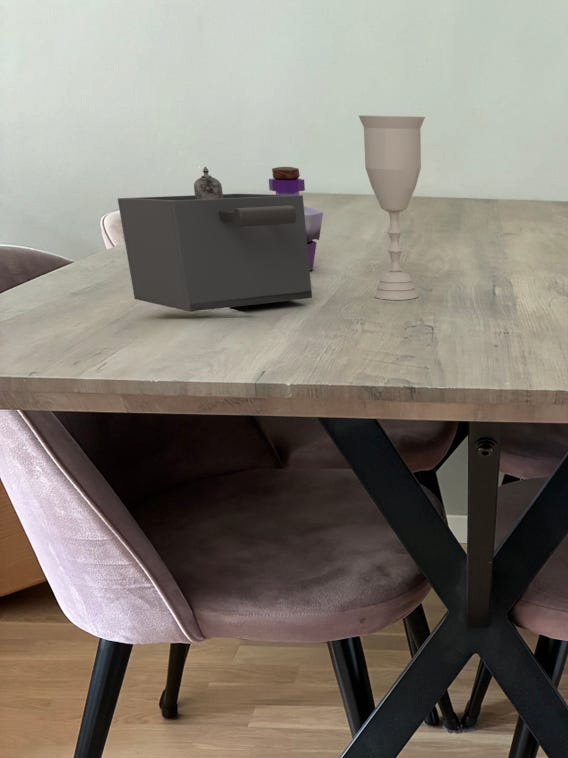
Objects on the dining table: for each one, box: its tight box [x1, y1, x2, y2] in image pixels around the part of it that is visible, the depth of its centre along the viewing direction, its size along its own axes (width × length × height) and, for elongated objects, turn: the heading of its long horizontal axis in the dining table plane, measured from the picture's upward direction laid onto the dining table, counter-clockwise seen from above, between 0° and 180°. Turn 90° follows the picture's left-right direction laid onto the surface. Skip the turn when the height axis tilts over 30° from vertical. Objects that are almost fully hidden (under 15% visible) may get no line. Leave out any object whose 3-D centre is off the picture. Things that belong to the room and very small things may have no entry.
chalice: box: [358, 115, 426, 301], centre depth 104 cm, size 7×7×18 cm
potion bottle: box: [268, 166, 324, 269], centre depth 121 cm, size 9×9×12 cm
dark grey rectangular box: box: [117, 193, 313, 313], centre depth 99 cm, size 19×14×10 cm
